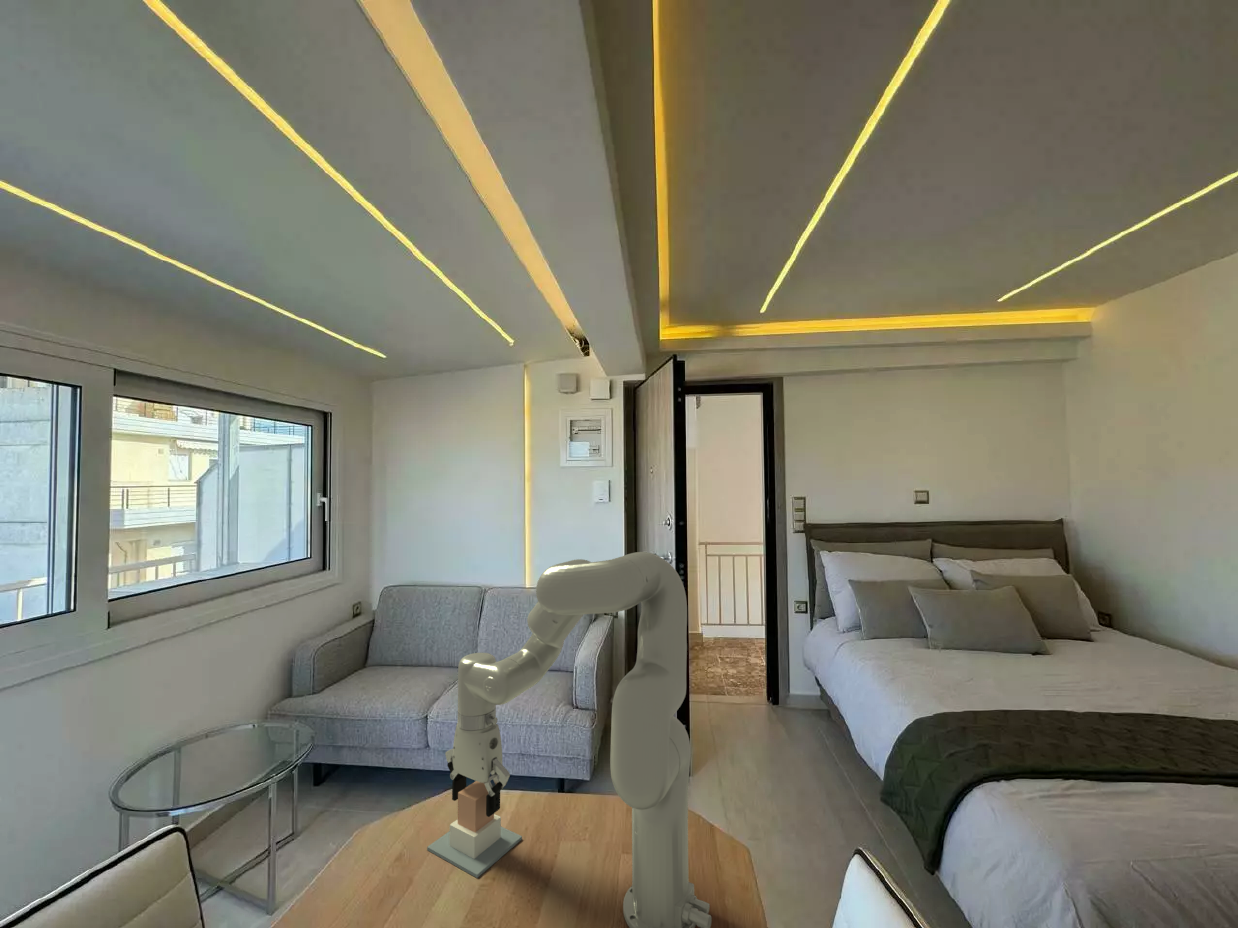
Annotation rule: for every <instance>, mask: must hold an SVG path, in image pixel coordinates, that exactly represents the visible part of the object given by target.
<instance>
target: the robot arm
mask: <svg viewBox="0 0 1238 928" xmlns="http://www.w3.org/2000/svg"><path fill="white" fill-rule="evenodd" d="M535 588H536V590H535V596H536V599H537V602H536V603H535V605H534V607H532V609H531V610H530V612H529V613H528V616H527V626H528V629H529V631H531V633H532V634H531V635H530V637H529V638H528V640H527V641H526V643H524V645H523V646H522V647H521V649H520V650H519V651H517V652H516V653H514V654H511V655H509V656H507V657H506V658H503V659H502V660H499V661H497V659H496V657H495V656H494V655H493V654H491V653H488V652H474V653H470V654H467V655H465V656H463V657H461V659H460V660H459V662H458V665H457V666H458V668H457V670H458V671H457V672H458V673H457V679H458V680H457V723H456V725H455V730H454V731H455V732H454V737H453V745H452V746H453V747H452V748H450V749H448V750H447V751H445V759H446V761H447V767H448V770H449V772H450V774H449V777H450V779H451V780H452V783H451V784H452V785H451V786H452V787H451V791H452V793H451V800H452V801H454V802H455V801H458V792H460V791H461V790H463V789H465V788H466V787H467V778H468V779H471V780H474V782H475V781H478V782H480V783H484V784H485V787H486V789H487V791H488V793H489V794H488V795H487V796H486V816H488V817H490V816H491V815H493V814H496V813H497V812H498V811H499V810H500V808H501V791H502V790H503V789H504V787H506V786H507V784H508V781H509V778H510V776H511V774H510V772H509V770H508V769H507V768H506V767H505V766H504V765H503V747H502V746H503V745H502V737H501V731H500V726H499V724H498V717H496V716H497V707H496V706H501V705H505V704H508V703H509V702H511V701H512V700H514V699H515V698H517V697H518V696H520V695H521V694H524V693H525V692H526V691H527V690H529V689H531V688H533V687H534V686H535V685H536V684H538V682H540V681H541V680H542V679H543V677H544V676H545V675H546V674H547V672H548V671H549V670H550V669H551V667H552V666H553V665H554V663H556V661H557V659H558V657H559V656H560V654H561V652H562V649H563V647H564V643H565V640H566V639H567V637H568V636H569V635H570V633H571V632H572V631H573V629H574V628H575V627H576V626H577V624H578V623H579V621H580V620H581V619H582V618H583V616H584V615H595V614H596V615H597V614H612V613H618V612H623V611H624V612H625V611H627V610H630V609H631V608H634V607H635V606H637V605H639V604H641V610H640V617H639V622H638V626H637V650H636V651H637V653H636V661H635V664H634V666H633V668H632V669H631V670H630V671H628V672H627V673H626V675H625V676H624V677H623V678H622V679H621V680H620V682H619V683H618V684H617V686H616V689H615V692H614V695H613V699H612V703H611V704H612V705H611V723H610V724H611V725H610V727H611V729H610V753H609V754H610V759H609V761H610V764H609V765H610V767H609V768H610V777H611V782H612V784H613V785H612V786H613V787H614V789H615V792H616V794H617V795H618V797H619V798H620V799H621V800H622V801H623V802H624V803H625V805H627V806H628V807H630V808H631V842H632V843H631V863H632V864H631V869H632V871H631V873H632V874H631V875H632V877H631V879H632V880H631V886H630V887H629V888H628V889H627V891H626V893H625V895H624V897H623V903H622V907H623V909H622V912H623V918H624V920H625V923H626V924H627V926H628V927H629V928H696V926H697V927H698V928H711V926H712V916H711V914H709V913H710V905H711V904H710V903H708V902H706V901H704V900H701V899H698V898H697V896H696V895H695V884H694V883H693V882H690V881H689V880H690V879H689V820H688V819H689V780H690V767H691V757H692V756H691V755H692V754H691V752H692V751H691V742H690V738H689V737H690V736H689V734H688V731H687V730H686V727H685V726H684V724H683V723H682V722H681V721H680V720H679V719H678V718H677V717H676V716H674V715H675V714H676V712H677V711H678V710H679V708H681V706H682V704H683V702H684V700H685V698H686V695H687V658H688V657H687V655H688V652H687V651H688V643H687V642H688V641H687V633H688V632H687V626H688V605H687V603H688V602H687V595H686V594H687V593H686V590H685V587H684V584H683V581H682V579H681V577H680V575H679V573H678V572H677V570H676V569H675V568H674V567H673V565H671V564H670V563H669V562H668V561H667V560H666V559H664V558H663V557H661V556H659V555H657V554H654V553H651V552H646V551H638V552H636V551H635V552H631V553H628V554H625V555H623V556H618V557H614V558H612V559H605V560H601V561H599V560H597V561H590V560H588V559H582V558H581V559H579V558H578V559H577V558H576V559H572V560H568V561H564V562H560V563H555V564H553V565H552V566H549V567H548V568H547V569H545V570H544V571H543V572H542V574H541V575H540V576H539V578H538V579H537V583H536V587H535ZM492 780H493V782H494V784H495V785H494V786H493V784H492V782H491V781H492Z"/></svg>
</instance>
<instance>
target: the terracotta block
mask: <svg viewBox="0 0 1238 928" xmlns="http://www.w3.org/2000/svg"><path fill="white" fill-rule="evenodd" d="M488 794H489V793H488V791H487V789H486V787H485V784H484V783H480V782H478V781H475V780H474V782H472V783H471V784H469V785H468V786H466V788H465V789H463V790H461V791H460V792H458V799H457V819H458V824H459V825H461V826H463V827H465V828H467V829H469V830H471V831H473V832H477V831H478V830H479V829H481V828H482V827H483V826H485V825H486V824H487V823H489V822H490V821H491V820H492V819H494V814H495V813H494V814H493V815H491V816H490V817H488V816H486V796H487V795H488Z"/></svg>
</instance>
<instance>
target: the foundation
mask: <svg viewBox="0 0 1238 928" xmlns="http://www.w3.org/2000/svg"><path fill="white" fill-rule="evenodd" d="M501 820H502V817H501V816H500V815H497V814H496V813H494V819H492V820H491V821H490V822H489V823H487V824H486V825H485V826H483V827H482V828H481V829H479V830H478V831H477V832H473V831H471V830H469V829H467V828H465V827H463V826H461V825H459V824H458V818H457V819H456V820H454V821H453V822H451V823H450V824H449V831H447V832H446V833H444V834H443V835H442V836H440V837H439V838H437V839H436V840H435V841H433V842H432V843H430V844H429V845H428V846H427V847H426V850H427V851H428V852H430V853H431V854H433V855H435V856H437V857H438V858H441V859H443V860H444V861H446V862H448V863H449V864H451V865H453V866H455V867H457V868H458V869H460V870H461V871H464V872H465V873H467V874H469V875H470V876H473V878H474V877H475V878H476V879H478V878H479V877H480V876H481V875H483V874H484V873H485V872H486V871H487V870H488V869H489V868H490V867H492V866H493V865H494V864H495V863H497V862H498V861H499V860H500V859H501V858H502V857H503V856H505V854H506V853H508V852H509V851H510V850H511V849H513V848H514V847H515V846H516V845H517V844H518V843H519V842H520V841H522V840H523V836H522V835H520V834H518V833H517V832H514V831H511V830H509V829H507V828H505V827H503V826H502V825H501V824H502V822H501Z"/></svg>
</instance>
